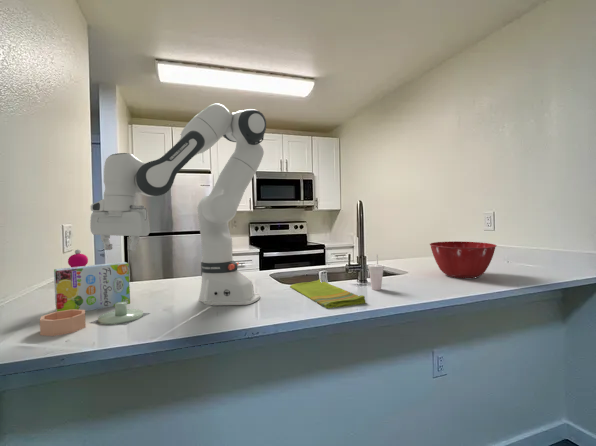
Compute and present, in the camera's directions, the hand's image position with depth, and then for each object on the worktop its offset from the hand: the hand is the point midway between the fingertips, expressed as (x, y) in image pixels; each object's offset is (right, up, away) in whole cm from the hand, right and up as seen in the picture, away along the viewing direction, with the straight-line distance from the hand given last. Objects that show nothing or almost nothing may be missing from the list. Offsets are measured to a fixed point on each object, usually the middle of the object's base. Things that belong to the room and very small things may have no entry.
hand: (119, 250), depth 102 cm
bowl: (-9, -21, -11) cm, 26 cm away
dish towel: (+65, -20, +24) cm, 72 cm away
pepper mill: (-23, -21, +16) cm, 35 cm away
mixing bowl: (+134, -17, +55) cm, 146 cm away
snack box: (-14, -21, +10) cm, 27 cm away
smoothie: (+87, -19, +31) cm, 94 cm away
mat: (+2, -21, -2) cm, 21 cm away
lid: (+2, -20, -2) cm, 21 cm away
